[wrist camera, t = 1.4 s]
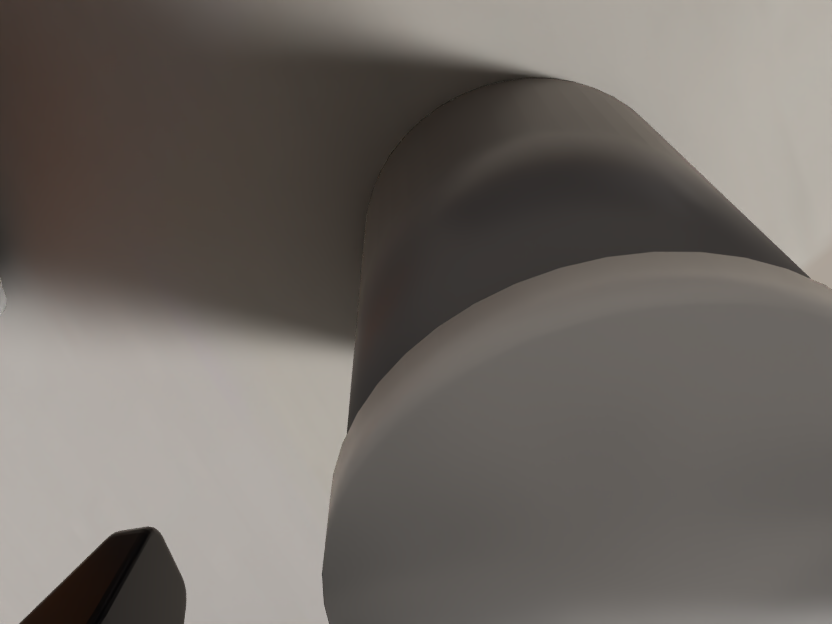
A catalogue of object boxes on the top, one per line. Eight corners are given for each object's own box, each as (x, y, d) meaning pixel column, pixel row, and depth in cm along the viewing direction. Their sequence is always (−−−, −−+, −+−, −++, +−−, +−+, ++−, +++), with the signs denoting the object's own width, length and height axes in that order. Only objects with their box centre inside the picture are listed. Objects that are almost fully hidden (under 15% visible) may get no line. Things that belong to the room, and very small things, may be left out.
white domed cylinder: (689, 349, 13) (929, 732, 7) (393, 397, 14) (391, 799, 8) (689, 38, 11) (1067, 237, 5) (323, 107, 11) (238, 375, 5)
